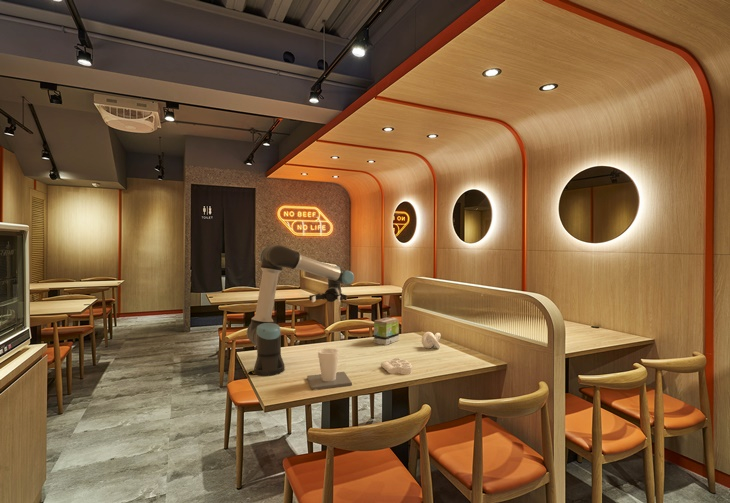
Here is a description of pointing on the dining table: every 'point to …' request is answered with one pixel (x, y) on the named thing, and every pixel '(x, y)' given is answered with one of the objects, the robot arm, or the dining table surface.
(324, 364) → the foam cup
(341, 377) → the tile
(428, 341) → the pretzel
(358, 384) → the dining table surface
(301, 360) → the dining table surface
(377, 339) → the tea box
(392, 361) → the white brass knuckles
